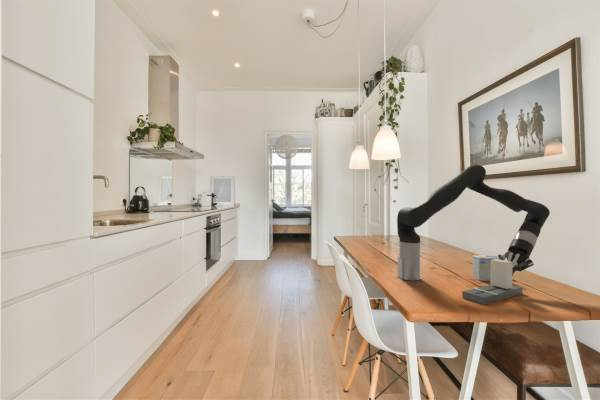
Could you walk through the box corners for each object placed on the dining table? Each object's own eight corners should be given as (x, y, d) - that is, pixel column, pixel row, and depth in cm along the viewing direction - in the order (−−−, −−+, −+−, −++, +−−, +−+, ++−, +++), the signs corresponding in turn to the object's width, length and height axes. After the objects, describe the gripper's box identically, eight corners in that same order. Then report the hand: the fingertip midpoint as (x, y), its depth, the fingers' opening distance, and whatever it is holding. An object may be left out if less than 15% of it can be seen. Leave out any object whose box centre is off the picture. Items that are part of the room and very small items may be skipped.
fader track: (485, 305, 105) (485, 297, 105) (460, 297, 113) (460, 290, 113) (524, 294, 117) (524, 287, 117) (499, 287, 125) (499, 281, 125)
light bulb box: (495, 277, 141) (495, 255, 141) (503, 281, 135) (503, 258, 135) (471, 277, 142) (471, 254, 142) (478, 281, 136) (478, 257, 136)
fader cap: (506, 288, 114) (506, 262, 114) (490, 284, 119) (490, 259, 119) (512, 287, 116) (512, 261, 116) (496, 283, 121) (496, 259, 121)
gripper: (544, 252, 119) (528, 287, 114) (509, 247, 131) (492, 278, 125) (538, 240, 117) (521, 274, 111) (502, 236, 128) (485, 267, 123)
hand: (506, 276), depth 118 cm, fingers closed
